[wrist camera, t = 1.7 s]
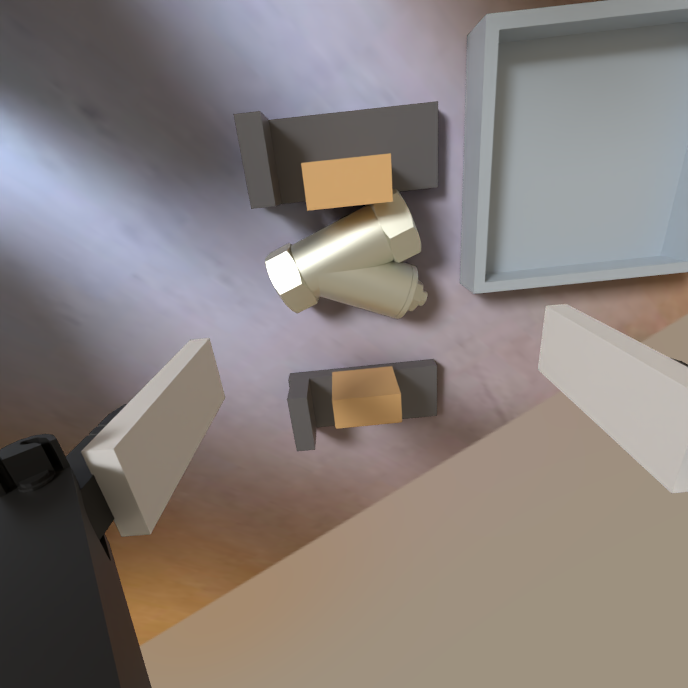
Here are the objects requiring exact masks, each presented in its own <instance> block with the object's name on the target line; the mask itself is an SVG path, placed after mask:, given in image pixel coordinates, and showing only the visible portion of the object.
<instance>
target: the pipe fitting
mask: <svg viewBox="0 0 688 688" xmlns="http://www.w3.org/2000/svg"><path fill="white" fill-rule="evenodd" d="M392 193H393V202H384V203H375V204H368V205H366V206H365V207H363V208H361V209H359V210H357V211H355V212H353V213H351V214H350V215H348V216H346V217H344V218H342V219H340V220H338V221H336V222H335V223H333V224H331V225H329V226H327V227H325V228H323V229H321V230H319V231H318V232H316V233H314V234H312V235H310V236H308V237H306V238H304V239H303V240H301V241H299V242H297V243H295V244H293V245H292V244H290V243H288V244H286V245H284V246H282V247H281V248H279V249H277V250H275V251H273V252H271V253H270V254H269V255H268V256H267V257H266V259H265V265H266V269H267V272H268V275H269V277H270V279H271V282H272V284H273V286H274V288H275V289H276V291H277V293H278V294H279V296H280V297H281V299H282V300H283V302H284V303H285V304H286V305H287V306H288V307H289V308H290V309H291V310H292V311H294V312H296V313H299V312H301V311H303V310H305V309H307V308H309V307H311V306H313V305H315V304H317V302H318V300H319V297H324V298H327V299H331V300H334V301H338V302H341V303H344V304H348V305H351V306H355V307H358V308H362V309H365V310H368V311H372V312H375V313H378V314H382V315H385V316H389V317H392V318H395V319H400V318H401V317H403V316H404V315H405V313H406V312H407V311H408V310H409V311H413V310H414V309H415V308H416V307H417V306H418V305H420V306H422V305H424V303H425V302H426V299H427V292H426V291H425V290H423V284H422V283H421V282H420V281H419V280H418V270H417V268H416V267H415V266H413V265H410V264H407V263H404V262H402V261H404V260H406V259H408V258H410V257H412V256H414V255H416V254H418V253H420V252H421V240H420V237H419V233H418V231H417V228H416V225H415V223H414V220H413V218H412V215H411V213H410V211H409V209H408V207H407V205H406V203H405V201H404V199H403V197H402V196H401V194H400V193H399V191H398V190H397V189H392Z"/></svg>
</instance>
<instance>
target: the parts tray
mask: <svg viewBox="0 0 688 688" xmlns="http://www.w3.org/2000/svg"><path fill="white" fill-rule="evenodd" d="M683 272H688V0H605V1H596V2H587V3H578V4H570V5H561V6H552V7H543V8H535V9H526V10H517V11H508V12H499V13H491V14H486V15H485V16H484V17H483V18H482V20H481V21H480V22H479V23H478V24H477V25H476V26H475V27H474V28H473V30H472V31H471V32H470V33H469V34H468V35H467V59H466V93H465V127H464V161H463V195H462V229H461V264H460V284H462V285H463V286H464V287H465V288H467V289H468V290H469V291H471V292H472V293H473V294H478V293H488V292H497V291H507V290H517V289H527V288H537V287H546V286H556V285H566V284H576V283H585V282H595V281H605V280H615V279H624V278H634V277H644V276H654V275H663V274H673V273H683Z"/></svg>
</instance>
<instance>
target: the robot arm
mask: <svg viewBox="0 0 688 688" xmlns="http://www.w3.org/2000/svg"><path fill="white" fill-rule="evenodd" d="M538 370H539V371H540V372H541V373H542V374H543V375H544V376H545V377H547V378H548V379H549V380H550V381H551V382H552V383H553V384H554V385H555V386H556V387H557V388H558V389H559V390H561V391H562V392H563V393H564V394H565V395H566V396H567V397H568V398H569V399H570V400H571V401H572V402H573V403H575V404H576V405H577V406H578V407H579V408H580V409H581V410H582V411H583V412H584V413H585V414H586V415H588V416H589V417H590V418H591V419H592V420H593V421H594V422H595V423H596V424H597V425H598V426H599V427H600V428H602V429H603V430H604V431H605V432H606V433H607V434H608V435H609V436H610V437H611V438H612V439H613V440H614V441H616V442H617V443H618V444H619V445H620V446H621V447H622V448H623V449H624V450H625V451H626V452H627V453H628V454H630V455H631V456H632V457H633V458H634V459H635V460H636V461H637V462H638V463H639V464H640V465H641V466H643V467H644V468H645V469H646V470H647V471H648V472H649V473H650V474H651V475H652V476H653V477H654V478H656V479H657V480H658V481H659V482H660V483H661V484H662V485H663V486H664V487H665V488H666V489H667V490H669V491H670V492H671V493H682V492H688V365H687V364H686V363H683V362H682V361H678V360H675V359H672V358H669V357H667V356H665V355H663V354H661V353H660V352H658V351H656V350H654V349H652V348H650V347H648V346H646V345H644V344H642V343H640V342H638V341H636V340H635V339H633V338H631V337H629V336H627V335H625V334H623V333H621V332H619V331H617V330H615V329H613V328H612V327H610V326H608V325H606V324H604V323H602V322H600V321H598V320H596V319H594V318H592V317H590V316H588V315H587V314H585V313H583V312H581V311H579V310H577V309H575V308H573V307H571V306H569V305H567V304H560V305H550V306H546V309H545V317H544V325H543V333H542V341H541V349H540V357H539V365H538ZM224 399H225V395H224V391H223V387H222V384H221V380H220V376H219V372H218V368H217V365H216V361H215V357H214V353H213V350H212V346H211V342H210V338H204V339H194V340H190V341H189V342H188V343H187V344H186V345H185V346H184V347H183V348H182V349H181V350H180V351H179V352H178V353H177V354H176V355H175V356H174V357H173V358H172V359H171V360H170V361H169V362H168V363H167V364H166V365H165V366H164V367H163V368H162V369H161V370H160V371H159V372H158V373H157V374H156V375H155V376H154V377H153V378H152V379H151V380H150V382H149V383H148V384H147V385H146V386H145V387H144V388H143V389H142V390H141V391H140V392H139V393H138V394H137V395H136V396H135V397H134V398H133V399H132V400H131V401H130V402H129V403H128V404H125V405H123V406H121V407H120V408H118V409H117V410H115V411H113V412H112V413H110V414H109V415H108V416H107V417H106V418H105V419H104V420H103V421H102V422H101V423H100V424H99V425H98V427H96V428H95V429H93V430H92V431H91V432H90V433H89V436H86V437H85V438H84V439H83V440H82V441H81V442H80V443H79V444H78V445H77V446H76V447H75V448H74V449H73V450H72V451H71V452H70V453H69V454H68V455H67V456H66V457H65V455H64V453H63V451H62V449H61V447H60V445H59V443H58V441H57V439H56V438H55V437H54V435H49V434H42V435H35V436H31V437H28V438H25V439H21V440H19V441H16V442H14V443H12V444H10V445H8V446H6V447H4V448H2V449H1V450H0V688H151V685H150V681H149V677H148V674H147V671H146V667H145V664H144V660H143V657H142V654H141V650H140V647H139V643H138V640H137V637H136V633H135V630H134V626H133V623H132V619H131V616H130V613H129V609H128V606H127V602H126V599H125V596H124V592H123V589H122V585H121V582H120V579H119V575H118V572H117V568H116V565H115V561H114V558H113V555H112V551H111V548H110V544H109V542H108V540H107V538H106V536H105V534H104V533H105V532H106V530H107V529H108V527H109V526H110V524H111V523H112V522H113V520H114V522H115V524H116V526H117V528H118V530H119V532H120V535H121V537H124V536H136V535H149V534H151V533H152V531H153V529H154V527H155V525H156V523H157V522H158V520H159V518H160V516H161V514H162V513H163V511H164V509H165V507H166V505H167V503H168V502H169V500H170V498H171V496H172V494H173V492H174V491H175V489H176V487H177V485H178V483H179V481H180V480H181V478H182V476H183V474H184V472H185V470H186V469H187V467H188V465H189V463H190V461H191V459H192V458H193V456H194V454H195V452H196V450H197V448H198V447H199V445H200V443H201V441H202V439H203V438H204V436H205V434H206V432H207V430H208V428H209V427H210V425H211V423H212V421H213V419H214V417H215V416H216V414H217V412H218V410H219V408H220V406H221V405H222V403H223V401H224Z"/></svg>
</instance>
